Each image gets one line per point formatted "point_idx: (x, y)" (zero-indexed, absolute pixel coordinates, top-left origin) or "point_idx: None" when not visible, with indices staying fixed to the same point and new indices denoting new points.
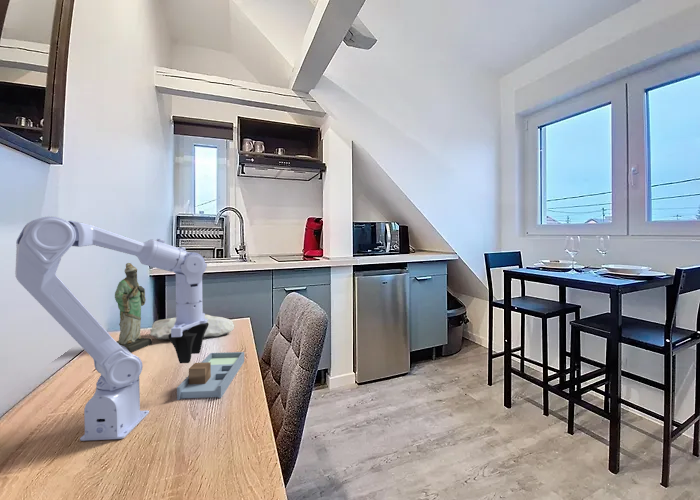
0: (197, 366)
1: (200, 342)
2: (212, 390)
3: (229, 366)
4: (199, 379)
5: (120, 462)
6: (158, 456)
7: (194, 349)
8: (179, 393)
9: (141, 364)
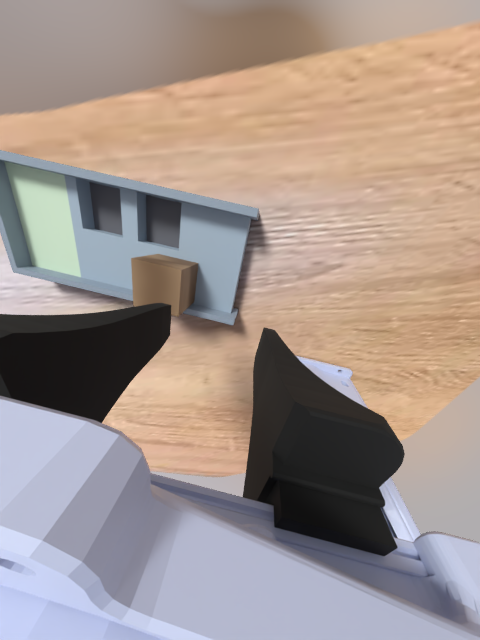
0: (163, 295)
1: (138, 317)
2: (244, 237)
3: (81, 204)
4: (192, 280)
5: (421, 359)
6: (447, 310)
7: (161, 329)
8: (236, 314)
9: (384, 483)
